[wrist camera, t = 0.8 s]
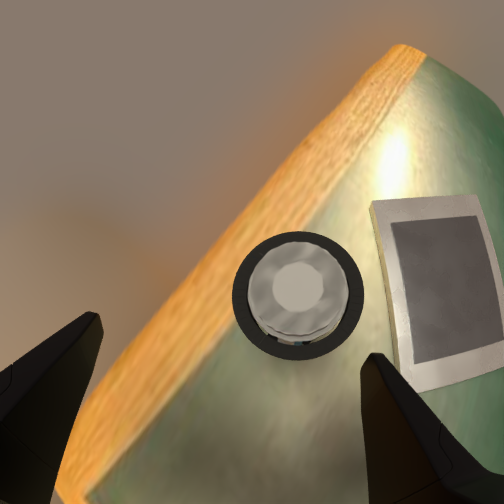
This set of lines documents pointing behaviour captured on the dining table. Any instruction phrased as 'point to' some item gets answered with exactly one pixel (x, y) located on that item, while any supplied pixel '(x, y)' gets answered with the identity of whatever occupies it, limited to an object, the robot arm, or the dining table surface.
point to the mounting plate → (440, 288)
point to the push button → (297, 295)
